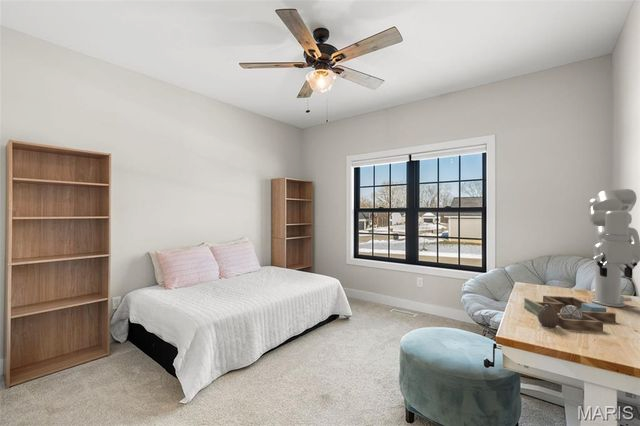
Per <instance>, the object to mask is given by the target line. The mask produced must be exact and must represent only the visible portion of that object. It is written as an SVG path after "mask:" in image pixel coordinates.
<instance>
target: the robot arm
mask: <svg viewBox="0 0 640 426" xmlns="http://www.w3.org/2000/svg"><path fill="white" fill-rule="evenodd" d="M636 202H637V194H636V192H635V191H634V190H633V189H630V188H617V189H613V188H612V189H611V188H610V189H604V190H601V191H599V192H598V194H597V195H596V197H595V198H592V199H590V200H589V201H588V204H587V208H588V220H589V223H590V224H591V225H592V226H594V227H595V237H596V240H597V242H598V243H595V244H594V245H593V249H592V250H593V255H594V256H593V260H594V262H595V263H594V264H595V266H594V267H595V273H594V275H595V277H594V281H595V286H594V287H595V288H594V291H595V292H594V293H595V294H594V297H591V298H590V301H591V302H592V303H593V304H598V305H600V306H607V307H614V308H615V307H616V308H622V307H623V308H624V307H625V306H626V304H625V302H630V303H631V302H632V300H633V299H632V297H625V296H622V294H621V293H622V291H621V290H622V287H621V286H622V285H621V284H622V271H621V269H620V267H619V266H618V265H624V266H625V267H624V269H623V270H624V273H623V274H624V275H623V276H624V277H626V278H628V279H629V278H630V279H632V278H633V270H634V269H635V267H637V266H638V263H639V262H640V235H639V232H638V230H637V229H635V228H634V227H630V225H631V224H632V220H633V217H632V214H630V212H631V211H632V210H633V208H634V207H635V205H636Z"/></svg>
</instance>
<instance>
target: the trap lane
mask: <svg viewBox="0 0 640 426" xmlns="http://www.w3.org/2000/svg"><path fill="white" fill-rule="evenodd" d="M571 303H572V305H573V306H575V307H577V308H578V307H580V308H579V310H580V311H581V303H588V302H586V301H584V300H582V299H579V298H576V297H574V296H561V295H560V296H559V295H542V301H534V300H532V299H530V298H528V297H524V307H523V308H524V309H525V310H526V311H528V312H530V313H532V314H533V315H535V316H536V317H538V312H539V310H540V309H541V308H542V307H543V306H544V305H545V304H550V305H552V306H553V308H554V309H555V311H556V312H560V309H561V308H563V307H564V306H563V304H564V305H565V306H567V305H571ZM559 308H560V309H559ZM581 312H582V313H583V312H584V314H582V319H584V320H575V319H564V318H563V317H561V316H559V315H560V314H558V316H559V323H558V325H557V326H558V327H560V328H561V329H563V330H578V331H591V332H592V331H594V332H595V331H597V332H604V322H609V323H610V322H611V323H616V321H617V320H616V319H617V318H616V315H617V314H616V312H615V313H614V312H607V311H606V312H592V311H581Z"/></svg>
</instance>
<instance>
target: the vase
mask: <svg viewBox="0 0 640 426" xmlns="http://www.w3.org/2000/svg"><path fill="white" fill-rule="evenodd" d="M558 315H559V314H558V311H555V309H554V308H553V306H552V305H550V304H545V305H544V306H543V307H542V308H541V309H540V310H539V312H538V316H537V319H538V322H539V324H540V325H541V326H543V327H545V328H547V329H548V328H549V329H553V328H556V327H557V326H558V323H559V316H558Z"/></svg>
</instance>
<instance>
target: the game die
mask: <svg viewBox="0 0 640 426" xmlns="http://www.w3.org/2000/svg"><path fill="white" fill-rule="evenodd" d="M563 306H564V307H563V308H561V309H560V308H559V309H560V311H559V314H558V315H559V316H561V317H563V318H564V319H575V320H584V319H582V314H584V312H583V313H582V312H581V311H580V310H579V308H580V307H578V308H577V307H575V306H573V305H572V303H571V305H567V306H565V305H564V304H563Z"/></svg>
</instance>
